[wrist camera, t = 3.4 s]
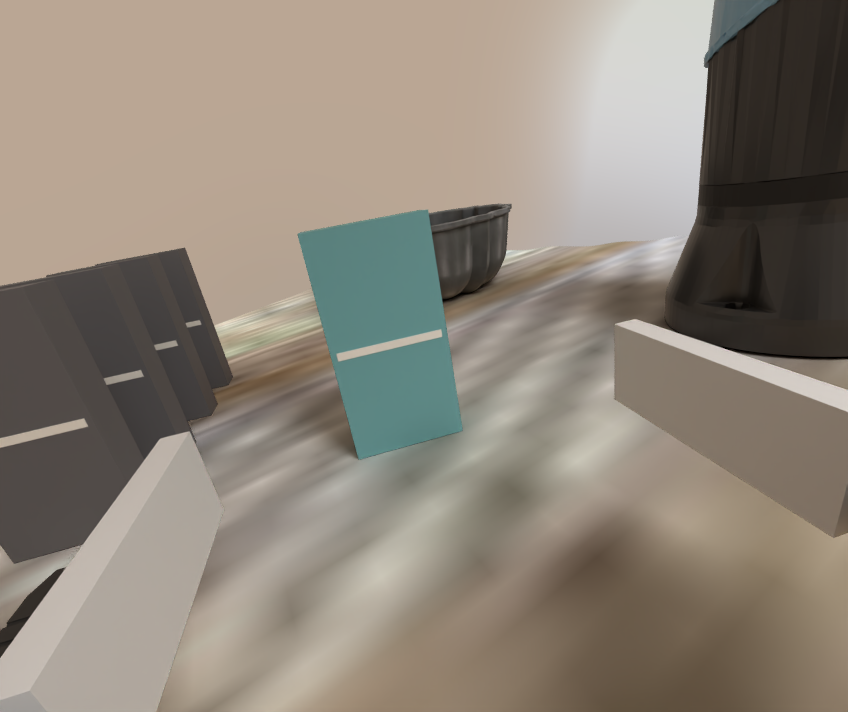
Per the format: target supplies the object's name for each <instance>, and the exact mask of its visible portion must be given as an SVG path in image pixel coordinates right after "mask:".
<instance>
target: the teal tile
mask: <svg viewBox="0 0 848 712" xmlns="http://www.w3.org/2000/svg"><path fill="white" fill-rule="evenodd" d="M298 238H299V242H300V245H301V248H302V253H303V256H304V260H305V264H306V268H307V271H308V275H309V278H310V282H311V286H312V290H313V293H314V297H315V301H316V304H317V308H318V312H319V315H320V319H321V323H322V326H323V330H324V334H325V337H326V341H327V345H328V348H329V352H330V356H331V359H332V363H333V367H334V370H335V374H336V378H337V381H338V385H339V389H340V392H341V396H342V400H343V404H344V407H345V411H346V415H347V418H348V422H349V426H350V429H351V433H352V437H353V440H354V444H355V448H356V451H357V455H358V459H363V458H366V457H370V456H374V455H377V454H381V453H384V452H388V451H392V450H395V449H399V448H402V447H406V446H410V445H413V444H417V443H420V442H424V441H427V440H431V439H435V438H438V437H442V436H445V435H449V434H453V433H456V432H460V431H463V430H462V423H461V417H460V411H459V404H458V398H457V391H456V385H455V379H454V372H453V366H452V360H451V353H450V347H449V341H448V334H447V328H446V321H445V315H444V309H443V302H442V296H441V290H440V283H439V277H438V271H437V264H436V258H435V251H434V245H433V239H432V232H431V226H430V220H429V213H428V210H417V211H412V212H407V213H401V214H396V215H391V216H386V217H380V218H375V219H369V220H364V221H359V222H353V223H348V224H343V225H337V226H333V227H327V228H321V229H316V230H311V231H306V232H300V233H299V234H298Z"/></svg>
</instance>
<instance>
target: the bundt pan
mask: <svg viewBox="0 0 848 712" xmlns="http://www.w3.org/2000/svg"><path fill="white" fill-rule="evenodd" d="M510 209H511V204H491V205H483V206H472V207H467V208H458V209H451V210H445V211H439V212H434V213H429V220H430V226H431V232H432V239H433V245H434V251H435V258H436V264H437V271H438V277H439V283H440V290H441V296H442V299H448V298H452V297H454V296H456V295H457V294H459V293H471V292H473V291H475V290H477V289H478V288H479V287H480V286H481V285H482V284H484V283H486V282H488V281H489V280H491V279H492V278H493V277H494V276H495V275H496V274H497V272H498V271H499V269H500V267H501V265H502V263H503V261H504V258H505V254H506V246H507V230H508V213H509V212H510Z"/></svg>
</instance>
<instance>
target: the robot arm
mask: <svg viewBox="0 0 848 712" xmlns="http://www.w3.org/2000/svg"><path fill="white" fill-rule="evenodd" d="M704 67H705V68H708V79H707V94H706V106H705V119H704V131H703V144H702V156H701V169H700V181H699V197H698V209H697V217H696V220H695V223H694V226H693V228H692V230H691V233H690V235H689V238H688V240H687V242H686V245H685V247H684V249H683V252H682V254H681V257H680V259H679V261H678V264H677V266H676V269H675V271H674V273H673V276H672V278H671V281H670V283H669V285H668V288H667V292H666V300H665V320H666V322H667V323H668V325H669V326H671V327H672V328H673V329H675V330H676V331H678V332H680V333H682V334H684V335H682V334H679V333H676V332H673V331H670V330H667V329H664V328H661V327H658V326H655V325H652V324H649V323H646V322H643V321H640V320H637V319H633V320H629V321H625V322H621V323H617V324H614V351H615V400H617V401H618V402H620V403H621V404H623V405H625V406H626V407H628V408H629V409H631V410H633V411H634V412H636V413H637V414H639V415H640V416H642V417H644V418H645V419H647V420H648V421H650V422H651V423H653V424H655V425H656V426H658V427H659V428H661V429H662V430H664V431H666V432H667V433H669V434H670V435H672V436H674V437H675V438H677V439H678V440H680V441H681V442H683V443H685V444H686V445H688V446H689V447H691V448H692V449H694V450H696V451H697V452H699V453H700V454H702V455H703V456H705V457H707V458H708V459H710V460H711V461H713V462H715V463H716V464H718V465H719V466H721V467H722V468H724V469H726V470H727V471H729V472H730V473H732V474H733V475H735V476H737V477H738V478H740V479H741V480H743V481H744V482H746V483H748V484H749V485H751V486H752V487H754V488H756V489H757V490H759V491H760V492H762V493H763V494H765V495H767V496H768V497H770V498H771V499H773V500H774V501H776V502H778V503H779V504H781V505H782V506H784V507H785V508H787V509H789V510H790V511H792V512H793V513H795V514H797V515H798V516H800V517H801V518H803V519H804V520H806V521H808V522H809V523H811V524H812V525H814V526H815V527H817V528H819V529H820V530H822V531H823V532H825V533H826V534H828V535H830V536H831V537H833V538H835V537H838V536H840V535H843V534H845V533H848V390H846V389H843V388H840V387H837V386H834V385H831V384H828V383H825V382H822V381H819V380H816V379H813V378H810V377H807V376H804V375H801V374H798V373H795V372H792V371H789V370H786V369H784V368H781V367H778V366H775V365H772V364H769V363H766V362H763V361H760V360H757V359H754V358H751V357H748V356H745V355H742V354H739V353H736V352H733V351H730V350H727V349H724V348H721V347H718V346H715V345H719V346H724V347H729V348H734V349H740V350H746V351H753V352H760V353H769V354H780V355H793V356H817V357H845V356H848V0H715V2H714V10H713V18H712V26H711V34H710V41H709V50H708V52H707V53H706V55H705V58H704ZM685 335H686V336H685ZM688 336H689V337H688ZM703 341H704V342H703ZM706 342H707V343H706ZM709 343H711V344H709ZM712 344H715V345H712ZM223 512H224V508H223V506H222V504H221V501H220V499H219V497H218V495H217V492H216V490H215V488H214V485H213V483H212V481H211V479H210V476H209V474H208V472H207V470H206V467H205V465H204V463H203V460H202V458H201V456H200V454H199V451H198V449H197V447H196V444H195V442H194V440H193V438H192V435H191V433H190V431H188V432H184V433H180V434H176V435H172V436H168V437H165V438H161V439H159V441H158V442H157V444H156V445H155V446H154V448H153V449H152V450H151V452H150V453H149V455H148V456H147V457H146V459H145V460H144V461H143V463H142V464H141V466H140V467H139V468H138V470H137V471H136V472H135V474H134V475H133V476H132V478H131V479H130V481H129V482H128V483H127V485H126V486H125V487H124V489H123V490H122V492H121V493H120V494H119V496H118V497H117V498H116V500H115V501H114V503H113V504H112V505H111V507H110V508H109V509H108V511H107V512H106V514H105V515H104V516H103V518H102V519H101V520H100V522H99V523H98V525H97V526H96V527H95V529H94V530H93V531H92V533H91V534H90V536H89V537H88V538H87V540H86V541H85V542H84V544H83V545H82V546H81V548H80V549H79V551H78V552H77V553H76V555H75V556H74V557H73V559H72V560H71V562H70V563H69V564H68V566H67V567H66V568H62V569H59V570H56V571H55V572H54V573H53V574H52V575H51V576H49V577H48V578H47V579H46V580H45V581H44V582H43V583H42V584H40V585H39V586H38V587H37V588H36V589H35V590H34V591H33V592H32V593H30V594H29V595H28V596H27V597H26V599H25V600H24V601H23V603H22V604H21V605H20V606H19V608H18V609H17V610H16V612H15V613H14V614H13V616H12V617H11V618H10V619H9V621H8V622H7V627H6V628H3V629H2V630H1V631H0V712H156V711H157V708H158V705H159V702H160V700H161V697H162V694H163V691H164V688H165V685H166V682H167V679H168V676H169V673H170V670H171V667H172V664H173V661H174V658H175V655H176V652H177V649H178V646H179V643H180V640H181V637H182V634H183V631H184V628H185V625H186V622H187V619H188V616H189V613H190V610H191V607H192V604H193V601H194V598H195V595H196V592H197V589H198V586H199V583H200V580H201V577H202V574H203V571H204V569H205V566H206V563H207V560H208V557H209V554H210V551H211V548H212V545H213V542H214V539H215V536H216V533H217V530H218V527H219V524H220V521H221V518H222V515H223Z"/></svg>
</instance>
